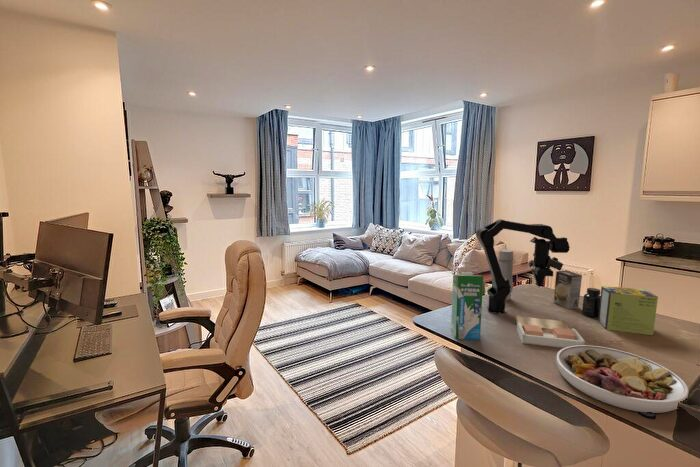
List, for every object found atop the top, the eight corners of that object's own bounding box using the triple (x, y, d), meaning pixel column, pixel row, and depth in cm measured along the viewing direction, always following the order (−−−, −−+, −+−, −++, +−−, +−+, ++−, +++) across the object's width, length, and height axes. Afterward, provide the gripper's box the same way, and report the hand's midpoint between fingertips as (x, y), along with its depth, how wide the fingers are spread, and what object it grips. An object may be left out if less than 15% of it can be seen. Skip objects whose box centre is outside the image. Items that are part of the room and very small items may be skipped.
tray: (522, 343, 126) (522, 335, 125) (516, 329, 137) (517, 322, 137) (585, 350, 120) (585, 342, 119) (574, 336, 131) (574, 328, 131)
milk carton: (473, 329, 137) (476, 269, 134) (480, 340, 129) (483, 275, 125) (450, 329, 138) (453, 269, 135) (455, 339, 129) (458, 275, 126)
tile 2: (556, 340, 127) (557, 334, 127) (552, 333, 133) (552, 327, 132) (575, 342, 125) (575, 335, 125) (569, 335, 131) (570, 329, 131)
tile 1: (525, 336, 130) (525, 330, 130) (522, 330, 136) (522, 324, 136) (543, 338, 129) (543, 332, 128) (539, 331, 134) (539, 325, 134)
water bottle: (491, 297, 176) (494, 249, 172) (504, 295, 178) (507, 248, 175) (504, 303, 167) (507, 253, 164) (517, 301, 170) (521, 252, 166)
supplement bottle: (604, 318, 148) (607, 291, 146) (588, 318, 148) (591, 291, 146) (593, 312, 155) (596, 286, 153) (578, 312, 155) (580, 286, 153)
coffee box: (552, 302, 168) (555, 270, 165) (563, 301, 169) (566, 270, 167) (568, 309, 159) (571, 275, 156) (579, 308, 160) (582, 274, 158)
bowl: (562, 350, 121) (564, 329, 120) (679, 380, 102) (682, 355, 101) (547, 389, 98) (549, 364, 97) (693, 438, 79) (698, 407, 78)
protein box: (653, 335, 131) (659, 296, 129) (606, 330, 136) (610, 292, 134) (641, 324, 141) (645, 288, 139) (597, 320, 146) (600, 285, 144)
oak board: (519, 330, 137) (519, 325, 136) (515, 320, 146) (515, 316, 146) (571, 335, 131) (571, 331, 131) (563, 325, 141) (563, 321, 141)
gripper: (568, 258, 141) (565, 294, 143) (556, 249, 158) (553, 282, 161) (538, 256, 144) (535, 292, 146) (529, 248, 162) (527, 280, 164)
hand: (539, 286), depth 154 cm, fingers closed
